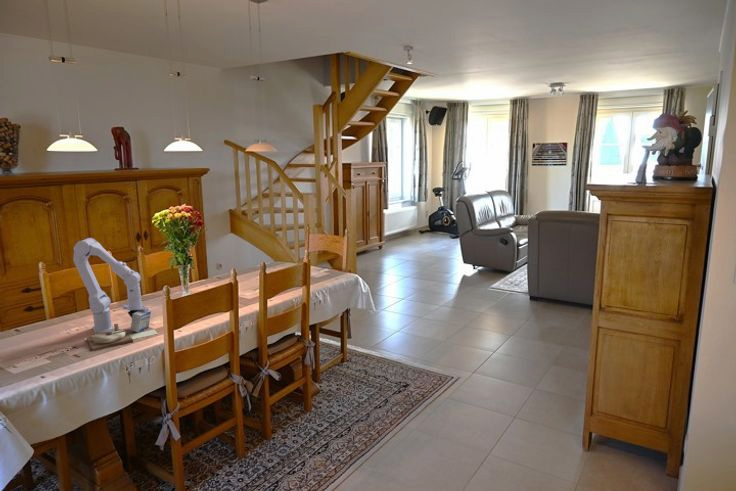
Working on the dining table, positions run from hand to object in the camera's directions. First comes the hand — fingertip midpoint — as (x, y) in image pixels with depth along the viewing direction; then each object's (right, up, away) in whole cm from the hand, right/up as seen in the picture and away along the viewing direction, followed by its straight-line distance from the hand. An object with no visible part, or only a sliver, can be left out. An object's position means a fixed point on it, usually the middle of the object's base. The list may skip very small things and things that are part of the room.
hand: (137, 324), depth 238 cm
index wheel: (-5, -3, -17) cm, 18 cm away
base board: (-5, -5, -16) cm, 18 cm away
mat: (+7, -3, -9) cm, 12 cm away
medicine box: (+2, -2, -3) cm, 4 cm away
